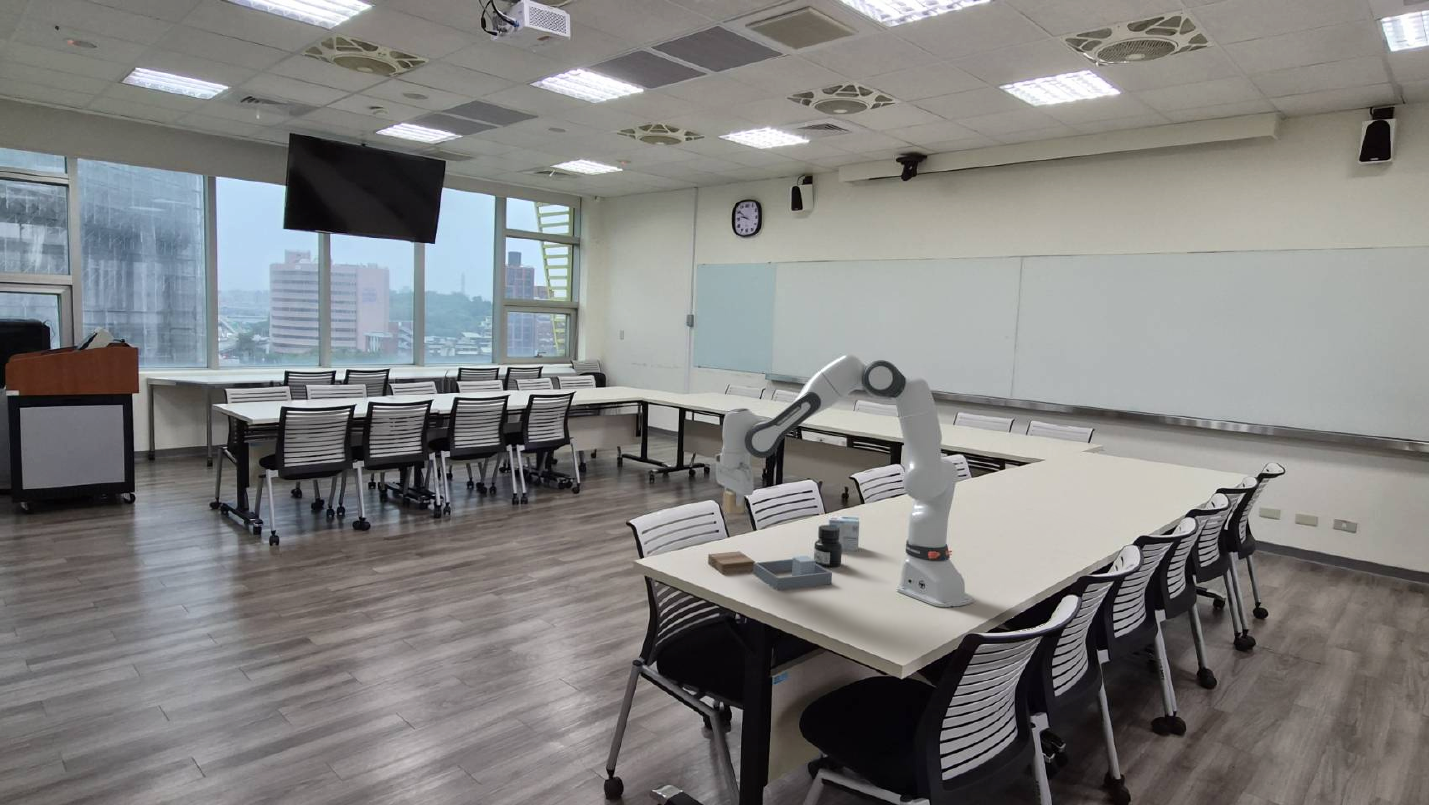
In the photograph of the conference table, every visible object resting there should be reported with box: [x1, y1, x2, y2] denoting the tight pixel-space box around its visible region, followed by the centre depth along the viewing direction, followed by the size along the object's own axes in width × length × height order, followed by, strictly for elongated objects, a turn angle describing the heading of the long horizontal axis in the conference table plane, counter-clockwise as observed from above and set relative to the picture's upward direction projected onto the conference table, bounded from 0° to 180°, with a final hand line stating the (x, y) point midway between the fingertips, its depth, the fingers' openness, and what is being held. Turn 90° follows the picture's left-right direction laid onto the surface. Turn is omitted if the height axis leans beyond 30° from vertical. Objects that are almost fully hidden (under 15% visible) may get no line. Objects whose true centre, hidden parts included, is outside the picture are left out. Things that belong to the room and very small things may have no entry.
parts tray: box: [752, 558, 833, 591], centre depth 238 cm, size 16×19×4 cm
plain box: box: [791, 555, 815, 576], centre depth 240 cm, size 5×5×6 cm
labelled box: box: [722, 490, 745, 515], centre depth 245 cm, size 5×5×6 cm
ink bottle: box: [813, 524, 843, 568], centre depth 255 cm, size 10×9×12 cm
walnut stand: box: [707, 551, 756, 575], centre depth 247 cm, size 11×11×3 cm
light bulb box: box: [827, 515, 860, 552], centre depth 273 cm, size 11×7×11 cm, turn 84°
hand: (733, 503), depth 245 cm, fingers closed on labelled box, 5 cm apart
